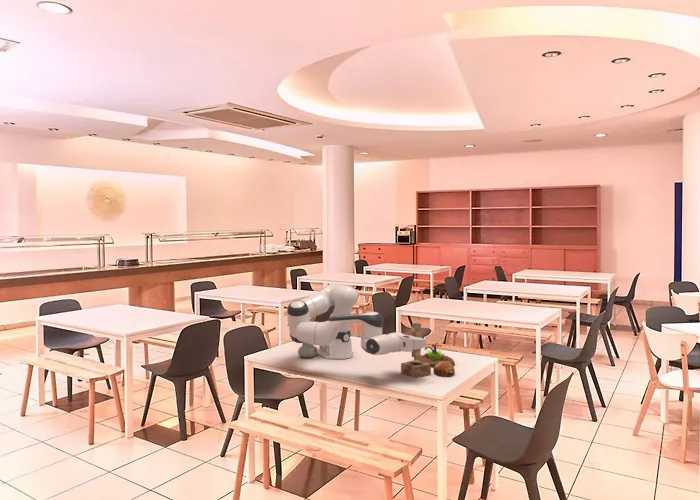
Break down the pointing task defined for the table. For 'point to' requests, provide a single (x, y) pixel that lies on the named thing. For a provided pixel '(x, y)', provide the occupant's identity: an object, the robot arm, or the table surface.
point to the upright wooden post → (416, 333)
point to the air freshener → (307, 350)
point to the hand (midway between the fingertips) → (417, 338)
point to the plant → (434, 357)
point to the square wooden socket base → (415, 369)
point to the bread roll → (444, 369)
